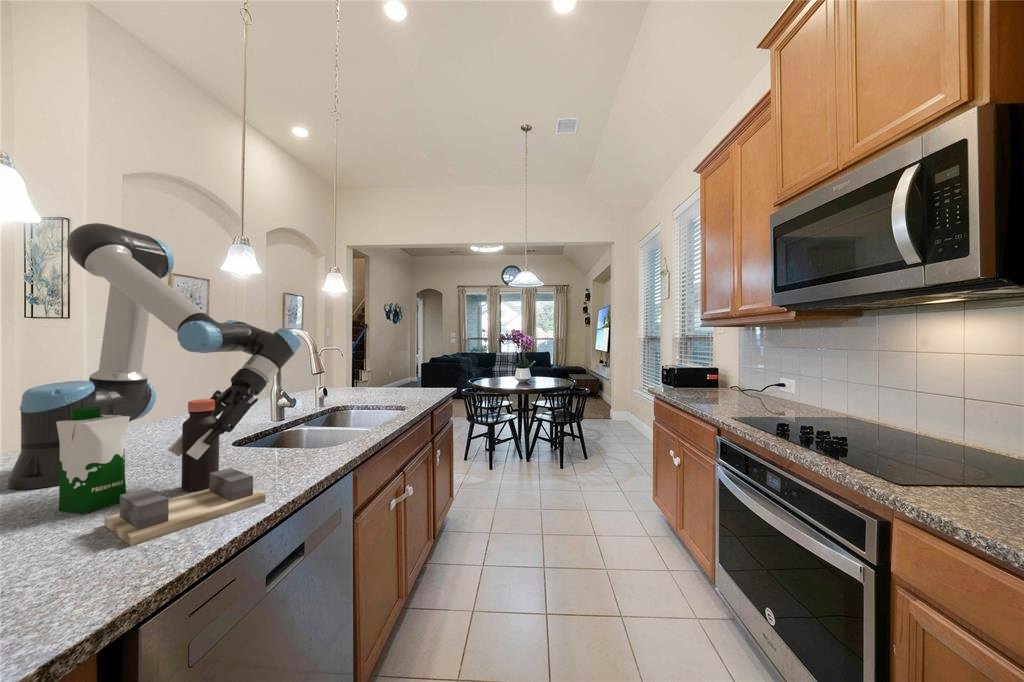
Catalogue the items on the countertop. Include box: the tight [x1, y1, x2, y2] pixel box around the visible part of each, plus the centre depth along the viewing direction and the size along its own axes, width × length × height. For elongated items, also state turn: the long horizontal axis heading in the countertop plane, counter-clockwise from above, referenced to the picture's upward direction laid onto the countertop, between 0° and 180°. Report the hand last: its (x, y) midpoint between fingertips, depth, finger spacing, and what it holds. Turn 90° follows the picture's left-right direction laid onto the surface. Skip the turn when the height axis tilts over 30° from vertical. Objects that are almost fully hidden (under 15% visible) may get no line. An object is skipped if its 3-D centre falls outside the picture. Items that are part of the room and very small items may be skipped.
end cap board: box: [104, 467, 267, 547], centre depth 77 cm, size 14×21×6 cm, turn 149°
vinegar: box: [181, 398, 220, 492], centre depth 90 cm, size 7×7×20 cm
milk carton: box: [56, 407, 130, 515], centre depth 80 cm, size 9×9×20 cm
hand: (182, 454), depth 87 cm, fingers closed on vinegar, 6 cm apart
